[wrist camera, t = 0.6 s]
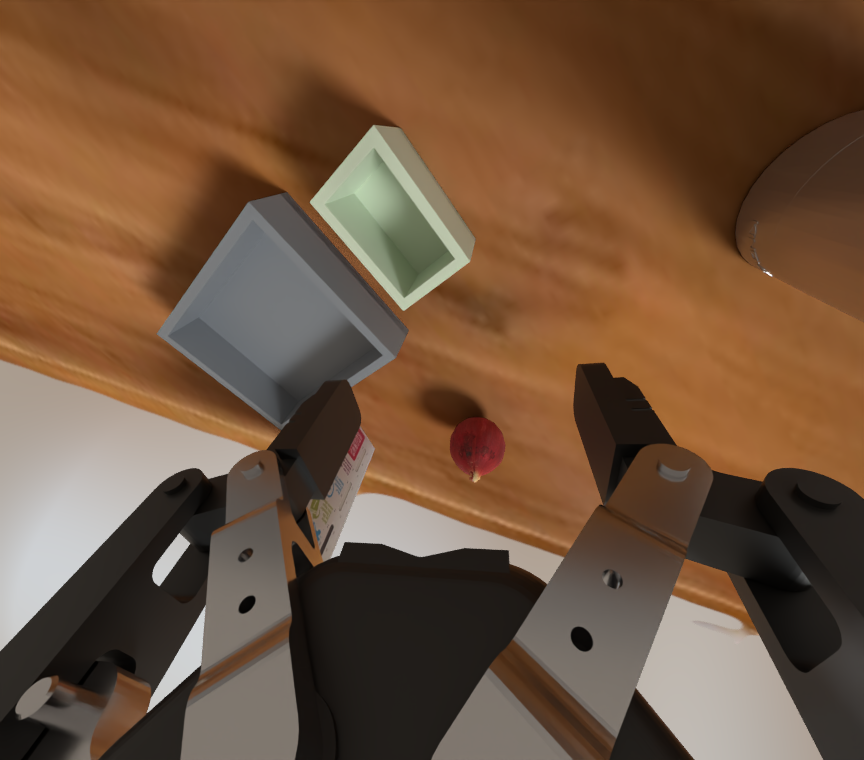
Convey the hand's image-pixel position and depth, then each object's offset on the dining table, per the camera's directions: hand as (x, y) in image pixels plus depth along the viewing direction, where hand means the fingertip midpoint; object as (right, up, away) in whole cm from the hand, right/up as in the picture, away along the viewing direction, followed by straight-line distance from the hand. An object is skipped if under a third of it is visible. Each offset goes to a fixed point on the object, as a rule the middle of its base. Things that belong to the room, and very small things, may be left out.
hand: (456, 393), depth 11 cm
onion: (+5, -4, +26) cm, 27 cm away
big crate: (-15, +7, +22) cm, 27 cm away
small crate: (-2, +13, +14) cm, 19 cm away
